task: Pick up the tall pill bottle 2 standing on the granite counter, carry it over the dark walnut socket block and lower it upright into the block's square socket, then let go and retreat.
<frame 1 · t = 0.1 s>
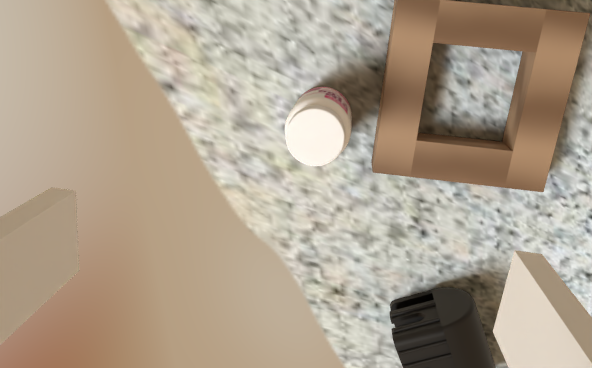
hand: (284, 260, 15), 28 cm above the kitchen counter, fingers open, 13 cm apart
end cap: (440, 330, 47), on the kitchen counter
socket block: (465, 92, 40), on the kitchen counter
pill bottle: (322, 114, 42), on the kitchen counter
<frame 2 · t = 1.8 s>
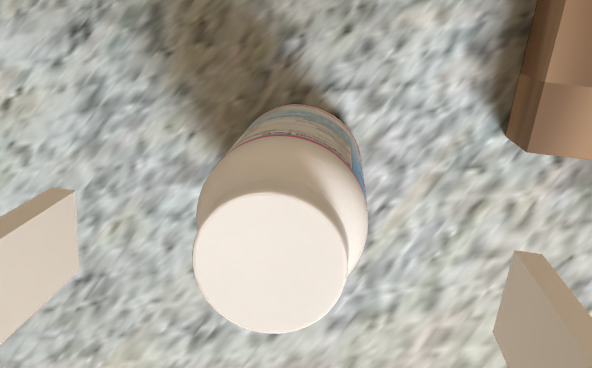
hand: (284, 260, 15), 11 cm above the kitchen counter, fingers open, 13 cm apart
pill bottle 2: (300, 160, 26), on the kitchen counter
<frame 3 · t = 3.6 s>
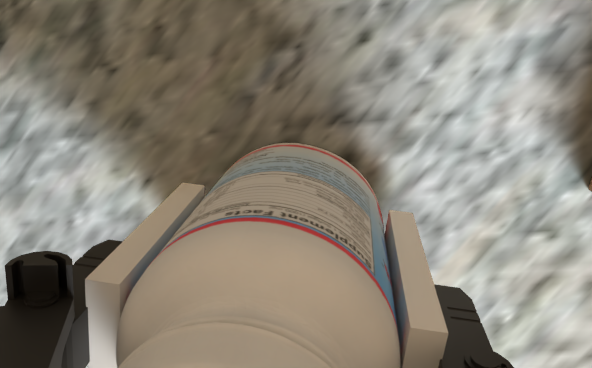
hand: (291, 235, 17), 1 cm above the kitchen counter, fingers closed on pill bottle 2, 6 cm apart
pill bottle 2: (297, 217, 18), on the kitchen counter, touching gripper
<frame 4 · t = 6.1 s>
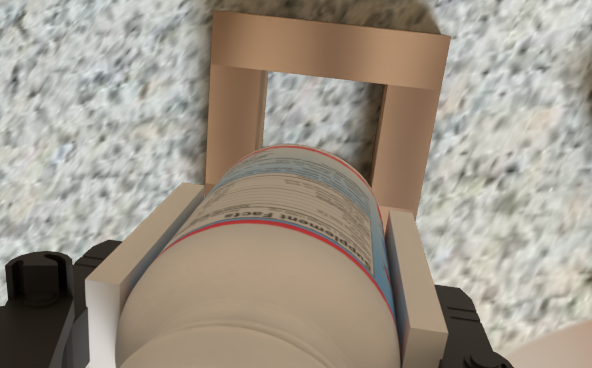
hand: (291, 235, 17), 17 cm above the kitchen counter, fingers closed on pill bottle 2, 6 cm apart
pill bottle 2: (296, 218, 18), point 15 cm above the kitchen counter, touching gripper
socket block: (319, 128, 33), on the kitchen counter
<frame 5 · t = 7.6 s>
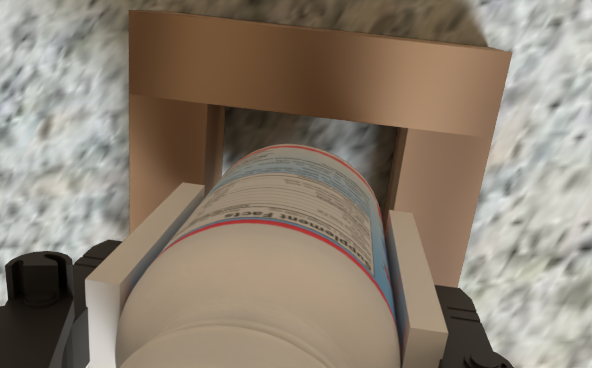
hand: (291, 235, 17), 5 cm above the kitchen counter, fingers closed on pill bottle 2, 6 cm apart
pill bottle 2: (296, 218, 18), point 4 cm above the kitchen counter, touching gripper
socket block: (303, 184, 22), on the kitchen counter
when the fingers open (4 cm above the kitchen counter, at t = 8.6 s): pill bottle 2 drops 2 cm, resting in socket block.
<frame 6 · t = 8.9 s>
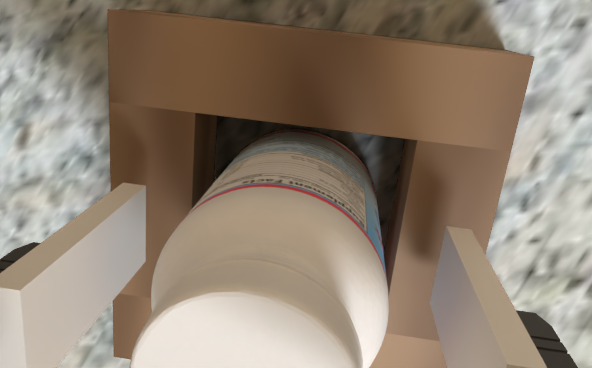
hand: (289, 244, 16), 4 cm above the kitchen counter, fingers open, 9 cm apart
pill bottle 2: (300, 197, 21), resting in socket block
socket block: (301, 198, 20), on the kitchen counter
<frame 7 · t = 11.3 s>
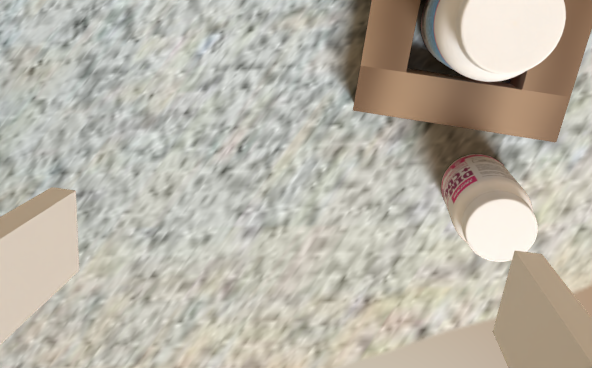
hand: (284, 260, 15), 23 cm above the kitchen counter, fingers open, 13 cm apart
pill bottle 2: (466, 21, 34), resting in socket block
socket block: (468, 20, 34), on the kitchen counter
pill bottle: (473, 183, 37), on the kitchen counter
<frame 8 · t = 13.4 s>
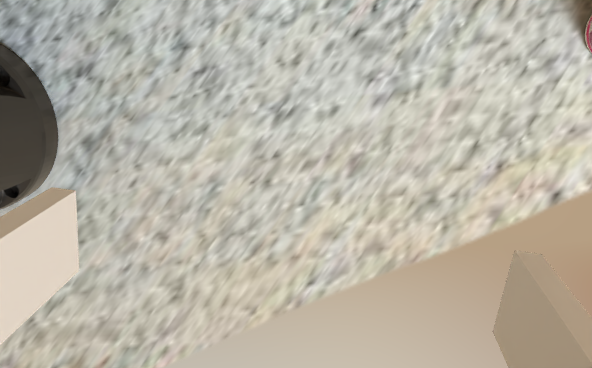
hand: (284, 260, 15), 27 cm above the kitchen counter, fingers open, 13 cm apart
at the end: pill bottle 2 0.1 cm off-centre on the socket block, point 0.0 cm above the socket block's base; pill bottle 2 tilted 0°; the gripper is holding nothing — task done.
